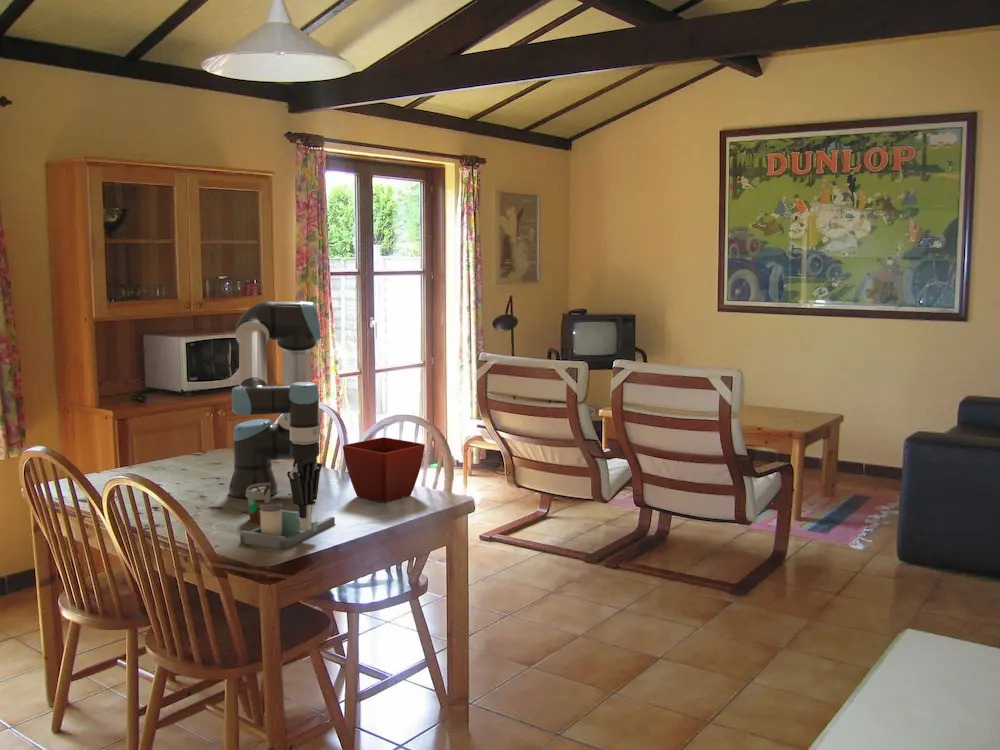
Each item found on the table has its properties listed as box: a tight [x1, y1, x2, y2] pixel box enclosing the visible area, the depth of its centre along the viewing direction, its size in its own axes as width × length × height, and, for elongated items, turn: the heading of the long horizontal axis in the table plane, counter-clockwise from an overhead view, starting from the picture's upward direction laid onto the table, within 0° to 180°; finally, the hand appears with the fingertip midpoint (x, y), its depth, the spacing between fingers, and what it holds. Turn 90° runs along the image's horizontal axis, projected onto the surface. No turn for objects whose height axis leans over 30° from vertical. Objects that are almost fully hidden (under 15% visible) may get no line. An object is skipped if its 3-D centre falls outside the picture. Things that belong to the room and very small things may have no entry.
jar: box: [260, 501, 283, 536], centre depth 251 cm, size 6×6×10 cm
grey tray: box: [239, 516, 336, 550], centre depth 259 cm, size 14×25×4 cm, turn 158°
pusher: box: [282, 509, 318, 537], centre depth 255 cm, size 16×2×7 cm, turn 68°
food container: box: [245, 483, 271, 524], centre depth 272 cm, size 12×6×10 cm, turn 5°
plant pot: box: [342, 436, 426, 503], centre depth 301 cm, size 19×19×17 cm
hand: (305, 528), depth 251 cm, fingers closed
